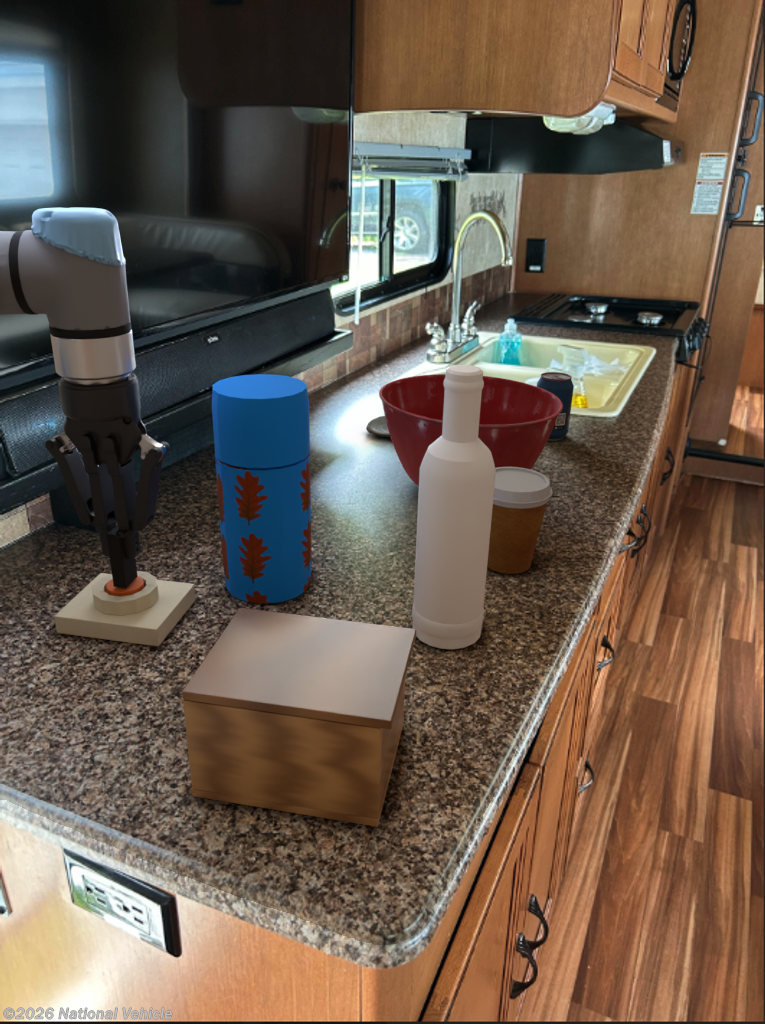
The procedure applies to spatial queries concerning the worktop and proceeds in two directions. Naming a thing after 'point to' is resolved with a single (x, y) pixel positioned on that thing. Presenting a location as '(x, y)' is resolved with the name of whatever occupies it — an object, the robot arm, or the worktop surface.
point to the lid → (378, 427)
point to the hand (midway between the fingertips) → (125, 581)
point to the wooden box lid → (306, 667)
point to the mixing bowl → (502, 424)
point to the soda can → (563, 390)
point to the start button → (130, 590)
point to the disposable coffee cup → (516, 518)
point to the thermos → (263, 485)
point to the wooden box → (291, 761)
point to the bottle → (454, 520)
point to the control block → (126, 611)
